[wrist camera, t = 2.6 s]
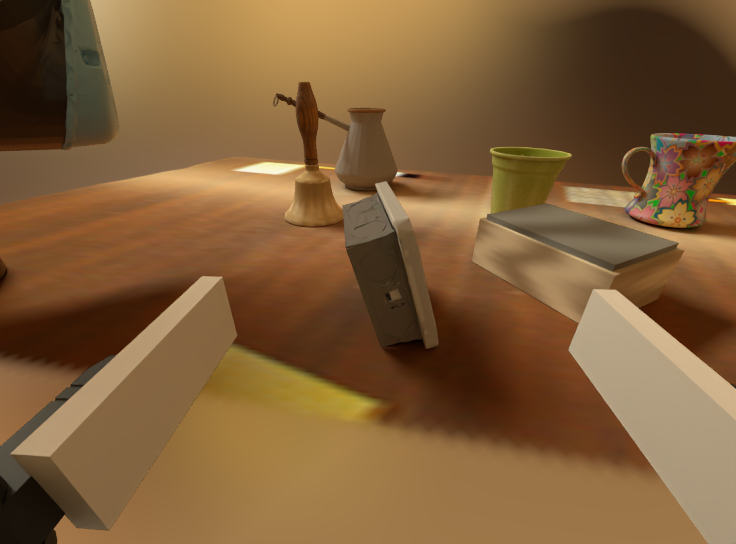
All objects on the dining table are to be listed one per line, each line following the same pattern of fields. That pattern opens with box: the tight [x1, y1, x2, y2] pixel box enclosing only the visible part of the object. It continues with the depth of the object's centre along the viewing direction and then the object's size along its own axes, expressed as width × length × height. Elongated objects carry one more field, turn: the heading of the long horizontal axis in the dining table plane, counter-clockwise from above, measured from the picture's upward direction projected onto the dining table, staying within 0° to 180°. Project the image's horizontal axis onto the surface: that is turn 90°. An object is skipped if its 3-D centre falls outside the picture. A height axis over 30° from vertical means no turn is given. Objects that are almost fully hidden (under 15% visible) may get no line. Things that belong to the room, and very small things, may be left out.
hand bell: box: [285, 82, 343, 227], centre depth 40 cm, size 8×8×16 cm
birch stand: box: [472, 203, 684, 323], centre depth 28 cm, size 12×9×5 cm
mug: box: [622, 133, 736, 228], centre depth 41 cm, size 12×9×11 cm
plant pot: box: [490, 147, 572, 214], centre depth 42 cm, size 9×9×9 cm
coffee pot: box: [273, 94, 397, 190], centre depth 55 cm, size 21×12×15 cm, turn 89°
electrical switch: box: [343, 181, 439, 349], centre depth 22 cm, size 9×5×9 cm, turn 5°
